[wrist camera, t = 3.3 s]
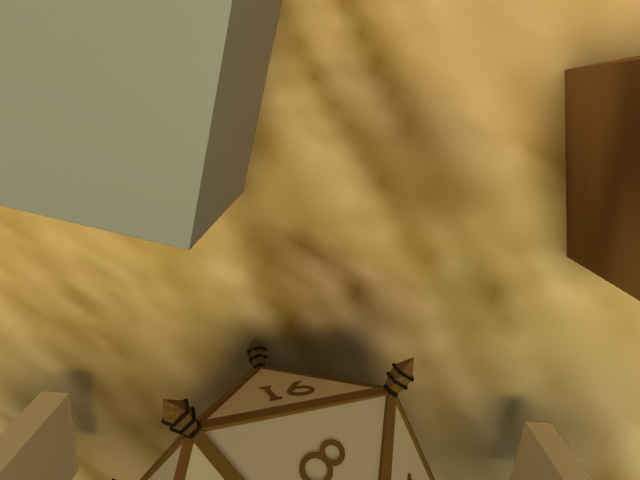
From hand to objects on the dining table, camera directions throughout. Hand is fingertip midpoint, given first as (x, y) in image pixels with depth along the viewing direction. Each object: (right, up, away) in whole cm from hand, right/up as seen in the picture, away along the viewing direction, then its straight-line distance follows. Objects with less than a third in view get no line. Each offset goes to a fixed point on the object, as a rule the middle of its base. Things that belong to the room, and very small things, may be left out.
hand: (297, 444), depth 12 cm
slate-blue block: (-3, +10, -2) cm, 11 cm away
